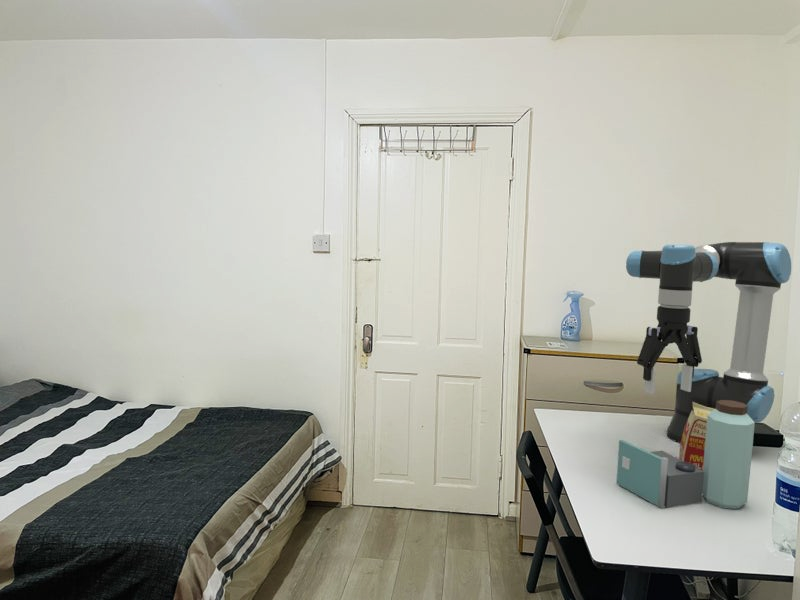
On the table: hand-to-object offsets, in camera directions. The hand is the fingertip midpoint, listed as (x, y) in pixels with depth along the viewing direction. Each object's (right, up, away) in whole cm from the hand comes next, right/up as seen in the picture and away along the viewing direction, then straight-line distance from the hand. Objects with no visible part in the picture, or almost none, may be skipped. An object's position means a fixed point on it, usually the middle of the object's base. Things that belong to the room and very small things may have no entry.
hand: (667, 391), depth 143 cm
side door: (-8, -26, -2) cm, 27 cm away
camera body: (-1, -26, +1) cm, 26 cm away
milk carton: (+15, -25, +14) cm, 32 cm away
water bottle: (+12, -27, -3) cm, 30 cm away
